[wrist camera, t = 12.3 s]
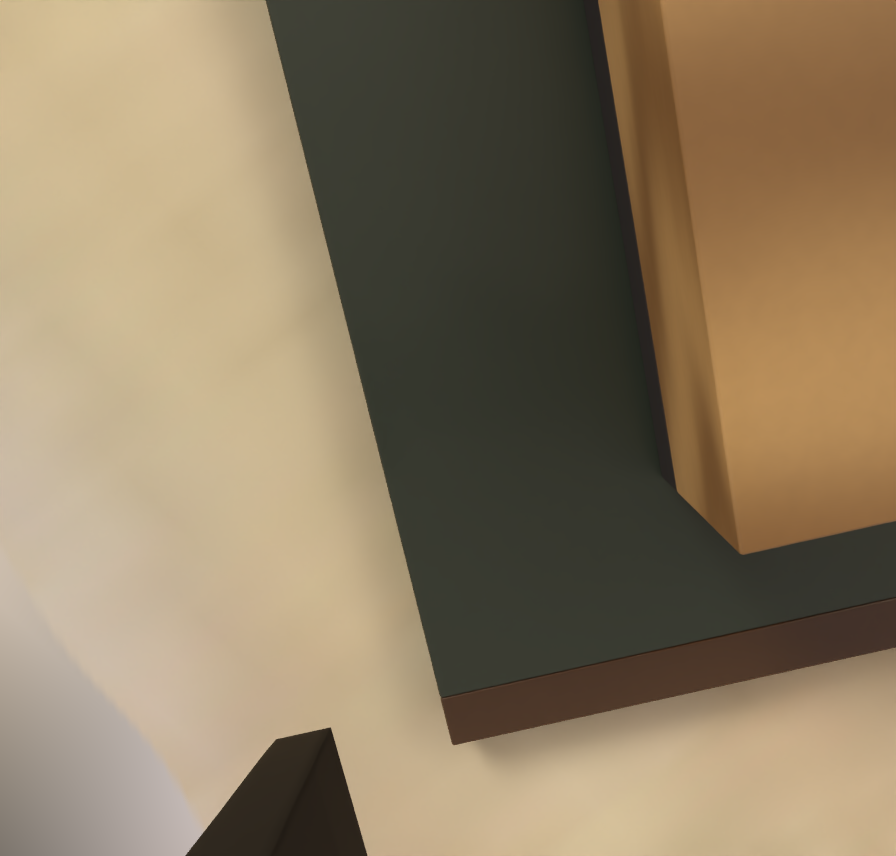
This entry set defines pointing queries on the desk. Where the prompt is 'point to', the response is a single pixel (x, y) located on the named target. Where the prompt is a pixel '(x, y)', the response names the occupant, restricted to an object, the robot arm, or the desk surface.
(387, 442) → the slate board
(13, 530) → the desk surface
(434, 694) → the desk surface
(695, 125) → the eraser
